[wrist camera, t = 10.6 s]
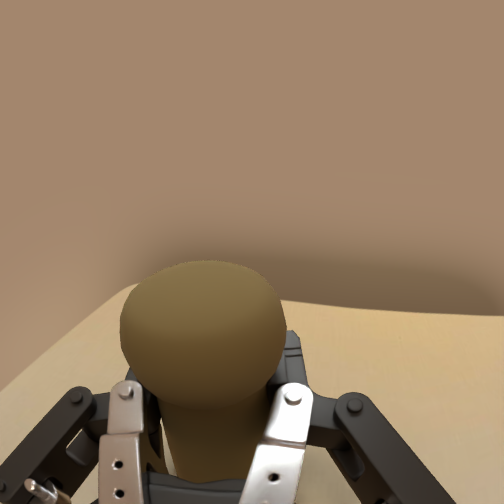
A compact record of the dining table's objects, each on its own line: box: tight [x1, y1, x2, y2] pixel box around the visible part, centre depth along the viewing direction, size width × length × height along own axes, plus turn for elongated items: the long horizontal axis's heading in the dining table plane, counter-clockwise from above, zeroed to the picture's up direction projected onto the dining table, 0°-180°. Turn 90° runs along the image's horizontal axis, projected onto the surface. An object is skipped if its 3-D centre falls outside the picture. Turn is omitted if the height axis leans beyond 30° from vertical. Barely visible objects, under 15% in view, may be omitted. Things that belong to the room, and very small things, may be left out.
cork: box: [120, 260, 287, 483], centre depth 11 cm, size 6×6×11 cm
